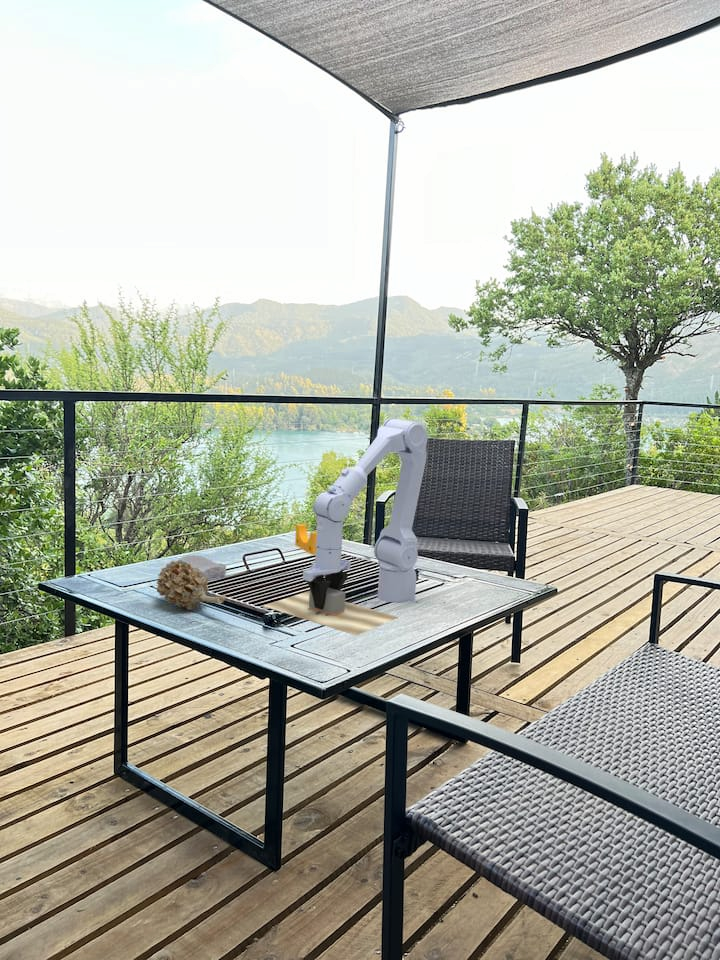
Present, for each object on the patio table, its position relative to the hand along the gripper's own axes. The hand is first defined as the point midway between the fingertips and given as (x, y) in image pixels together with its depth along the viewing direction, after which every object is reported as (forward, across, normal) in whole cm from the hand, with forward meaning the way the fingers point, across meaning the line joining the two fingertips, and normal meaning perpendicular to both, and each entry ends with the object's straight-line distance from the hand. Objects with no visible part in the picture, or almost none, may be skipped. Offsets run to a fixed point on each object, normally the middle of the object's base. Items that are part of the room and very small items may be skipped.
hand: (325, 605), depth 176 cm
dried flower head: (+3, +18, -23) cm, 29 cm away
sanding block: (+1, 0, 0) cm, 1 cm away
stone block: (+3, -4, -43) cm, 43 cm away
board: (+2, 0, +2) cm, 3 cm away
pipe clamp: (+3, -44, -41) cm, 61 cm away
